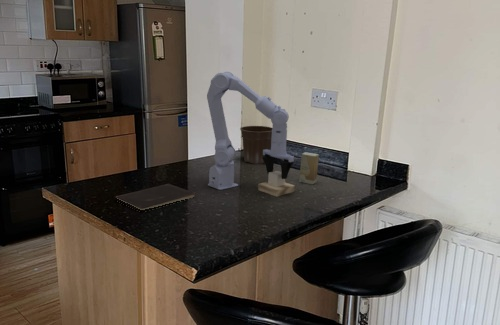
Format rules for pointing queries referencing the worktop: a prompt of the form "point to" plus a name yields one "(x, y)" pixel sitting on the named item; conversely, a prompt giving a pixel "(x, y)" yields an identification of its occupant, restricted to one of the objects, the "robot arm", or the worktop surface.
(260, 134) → the plant pot
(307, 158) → the skincare box
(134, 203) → the hardcover book
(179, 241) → the worktop surface
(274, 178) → the cream cube
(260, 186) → the oak plinth
